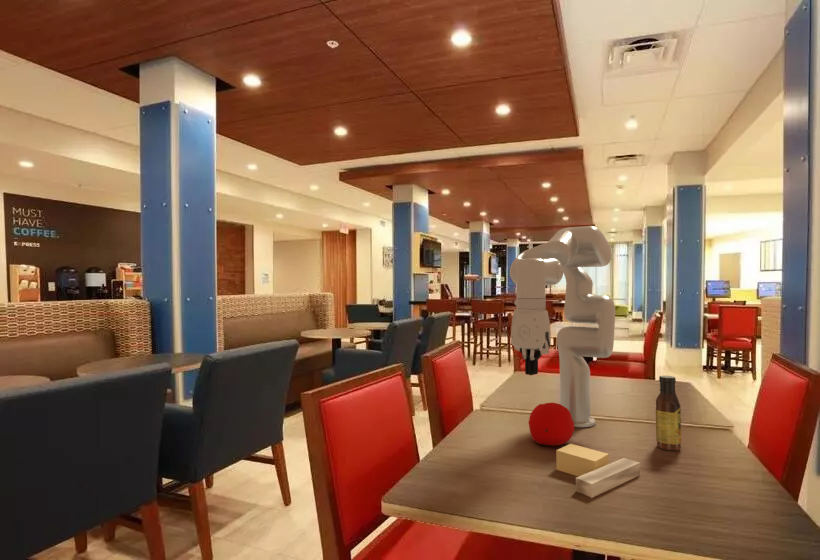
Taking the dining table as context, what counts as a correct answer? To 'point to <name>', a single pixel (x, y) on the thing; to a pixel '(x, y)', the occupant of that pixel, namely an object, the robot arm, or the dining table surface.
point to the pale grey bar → (607, 477)
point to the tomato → (551, 424)
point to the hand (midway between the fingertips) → (531, 374)
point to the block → (579, 459)
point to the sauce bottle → (668, 415)
